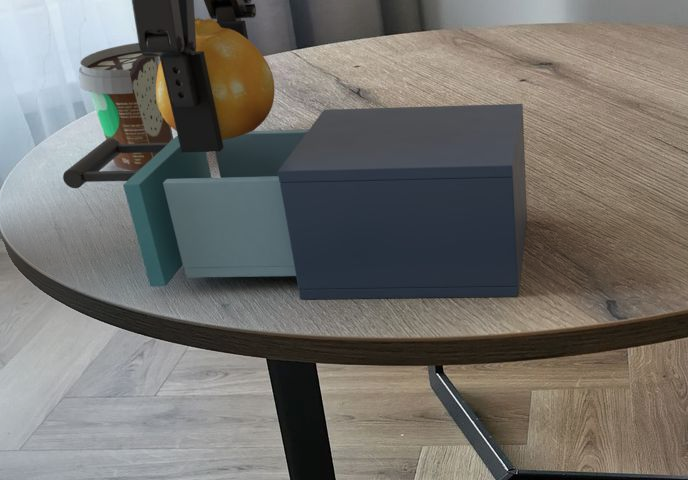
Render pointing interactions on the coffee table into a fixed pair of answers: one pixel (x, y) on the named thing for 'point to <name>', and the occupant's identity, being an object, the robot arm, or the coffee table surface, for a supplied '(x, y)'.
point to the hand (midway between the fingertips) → (223, 128)
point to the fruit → (228, 80)
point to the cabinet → (408, 203)
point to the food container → (126, 99)
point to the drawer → (204, 205)
